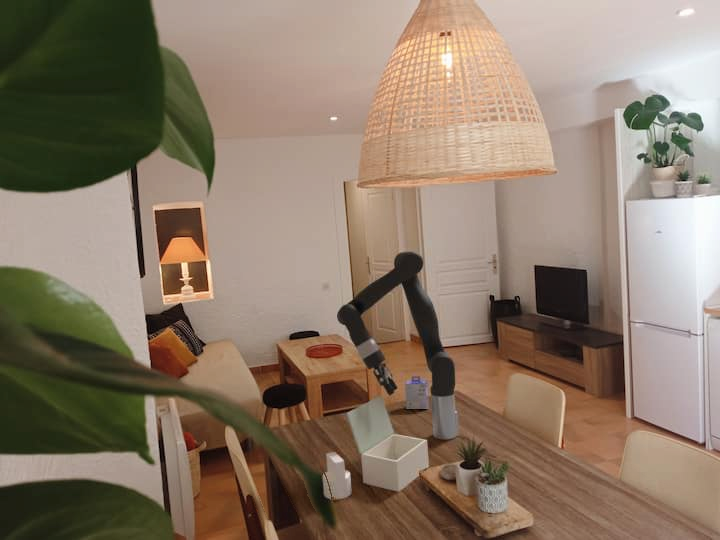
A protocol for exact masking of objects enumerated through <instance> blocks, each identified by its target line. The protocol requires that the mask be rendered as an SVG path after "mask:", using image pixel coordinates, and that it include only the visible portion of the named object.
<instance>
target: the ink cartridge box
mask: <svg viewBox="0 0 720 540" xmlns="http://www.w3.org/2000/svg"><path fill="white" fill-rule="evenodd" d="M428 390H429V389H428V381H427V380H421V376H420V375H417V376H416V375H414V376H412V377H411V380H407V381H406V382H405V383H404V392H405V406H406V409H427V410H428V409H429V407H430V406H429V405H430V403H429V391H428ZM406 409H405V410H406Z"/></svg>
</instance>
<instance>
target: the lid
mask: <svg viewBox="0 0 720 540" xmlns="http://www.w3.org/2000/svg"><path fill="white" fill-rule="evenodd" d="M345 415H346V417H347V421H348V424H349V426H350V429H351V432H352V435H353V438H354V441H355V445H356V448H357V450H358V454H359V455H360V454H362V453H364V452H365V451H367V450H369V449H370V448H372V447H373V446H375V445H376V444H378V443H380V442H381V441H383V440H384V439H386V438H387V437H389V436H390V435H392V434H395V431H394V428H393V425H392V423H391V419H390V417H389V414H388V410H387V408H386V405H385V402H384V398H383V396H382V395H379V396H377V397H375V398H373V399H371V400H369V401H368V402H365V403H363V404H361V405H360V406H358V407H355V408H354V409H352V410H350V411H348V412H346V413H345Z"/></svg>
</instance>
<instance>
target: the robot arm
mask: <svg viewBox="0 0 720 540" xmlns="http://www.w3.org/2000/svg"><path fill="white" fill-rule="evenodd" d="M393 266H394V268H392V269H391V270H390V271H388V272H387V273H386V274H384V275H383V276H381V277H379V278H377V279H376V280H374V281H372V282H371V283H370V284H368V285H367V286H366V287H364V288H363V289H362V290H360V291H359V292H358V293H357V295H355V297H354V298H353V299H352V300H350V301H349V302H348V303H346V304H343V305H342V306H341V307H340V308H339V309H338V311H337V313H336V319H337V321H338V323H339V324H341V325H342V326H345V328H346V330H347V332H348V334H349V338H350V341H351V342H352V343H353V345H354V347H355V348H356V352H357V353H358V355H359V356H360V358H361V360H362V361H363V363H364V365H365V367H366V369H368V370H371V369H373V371H372V373H373V375H374V376H375V378H376V380H377V382H378V383H379V385H380V386H381V387H383V388H384V390H385V392H386V393H387V395H388V396H391V395H394V394H395V391H397V390H398V386H397V384H396V383H395V380H394V379H393V374H392V373H391V371H390V370H389V368H388V366H387V364H386V363H382V362H384V361H385V360H386V357H385V355H384V354H383V352H382V350H381V349H380V346H379V345H378V344H377V341H375V340H374V338H373V336H372V335H371V332H370V331H369V330H368V329H367V326H366V325H365V322H364V321H363V318H362V315H363V314H364V313H365V312H367V311H368V310H369V309H371V308H372V307H373V306H375V305H376V304H377V303H378V302H379V301H380V300H382V299H383V298H384V297H385V296H386V295H388V294H389V293H390V292H391V291H393V290H394V289H395V288H396V287H398V286H400V285H401V286H402V288H403V291H404V295H405V298H406V302H407V304H408V306H409V307H408V308H409V311H410V314H411V318H412V321H413V323H414V326H415V328H416V331H417V334H418V337H419V338H420V341H421V344H422V347H423V351H424V355H425V361H426V366H427V369H428V370H429V372H431V386H430V398H431V399H430V402H431V416H432V418H431V419H432V433H433V437H434V438H435V439H438V440H451V439H455V438H456V437H459V436H460V431H459V430H460V429H459V415H458V411H457V410H456V400H455V399H456V397H455V387H456V369H455V363H454V360H453V359H452V357H450V356H449V355H447V353H446V351H445V349H444V346H443V343H442V342H441V338H440V329H439V327H440V326H439V321H438V320H439V319H438V316H437V312H436V309H435V306H434V303H433V301H432V300H431V298H430V297H429V295H428V293H427V292H426V291H425V289H424V288H423V286H422V284H421V282H420V278H419V276H418V274H419V273H420V272H421V271H422V269H423V267H424V259H423V257H422V255H421V254H420V253H418V252H416V251H403V252H399V253H397V254H396V255H395V257H394V260H393Z"/></svg>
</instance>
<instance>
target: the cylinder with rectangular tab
mask: <svg viewBox="0 0 720 540" xmlns="http://www.w3.org/2000/svg"><path fill="white" fill-rule="evenodd" d="M325 456H326V457H325V458H326V469H327V471H326V472H324V473H325V474H326V476H327V479H328V482H329V485H330V489H331V493H332V497H334V499H333V500H341V499H346V498H348V497H349V496H350V495H351V494H352V481H351V479H352V478H351V472H350V471H349V470H347V469H345V467H346V466H345V460H344V458H342V457H341V456H340V455H338V454H337V453H336V452H335V451H332V452H327V453H326V455H325ZM324 473H323V474H322V484H323V486H322V487H323V495H324V497H325V498H326V499H329V500H332V499H331V494H330V491H329V486H328V483H327V480H326V477H325V475H324ZM335 498H336V499H335Z"/></svg>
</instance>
